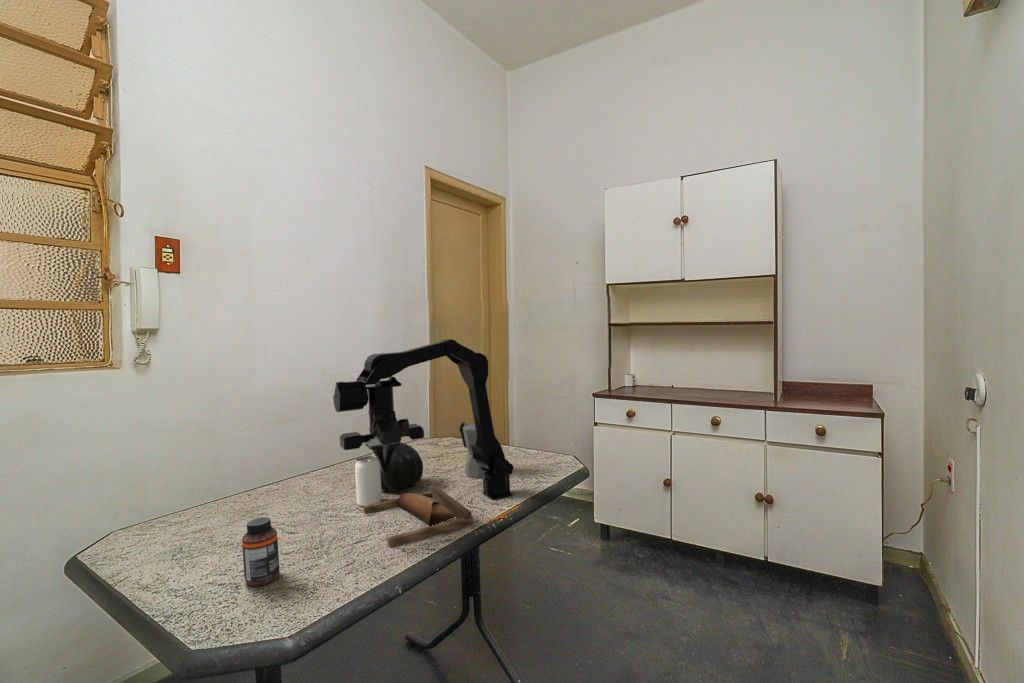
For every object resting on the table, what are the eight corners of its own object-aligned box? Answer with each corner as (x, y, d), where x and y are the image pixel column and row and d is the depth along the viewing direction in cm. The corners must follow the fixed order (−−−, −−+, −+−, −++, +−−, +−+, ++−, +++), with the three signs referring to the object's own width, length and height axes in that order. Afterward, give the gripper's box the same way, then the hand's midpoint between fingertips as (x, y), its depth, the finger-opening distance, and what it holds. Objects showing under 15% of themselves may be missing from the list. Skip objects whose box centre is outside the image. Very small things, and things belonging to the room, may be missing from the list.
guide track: (436, 495, 132) (436, 484, 132) (473, 523, 112) (473, 511, 111) (363, 511, 122) (362, 500, 122) (389, 546, 102) (388, 533, 101)
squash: (433, 471, 137) (416, 427, 144) (382, 484, 128) (367, 437, 136) (421, 493, 146) (405, 451, 154) (373, 507, 138) (359, 462, 145)
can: (374, 507, 125) (372, 462, 125) (352, 506, 126) (349, 461, 126) (386, 498, 131) (383, 455, 131) (364, 497, 133) (362, 455, 132)
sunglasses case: (460, 516, 116) (447, 497, 114) (440, 538, 112) (425, 519, 110) (425, 498, 130) (413, 480, 128) (406, 517, 126) (392, 499, 124)
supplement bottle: (253, 572, 93) (250, 515, 93) (284, 569, 94) (281, 513, 93) (238, 589, 87) (234, 528, 87) (272, 586, 88) (268, 525, 87)
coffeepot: (504, 474, 149) (502, 417, 148) (481, 482, 142) (479, 422, 142) (473, 465, 160) (470, 412, 159) (450, 472, 153) (448, 416, 153)
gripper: (347, 416, 101) (351, 489, 101) (430, 406, 110) (433, 472, 111) (337, 409, 111) (341, 476, 111) (415, 401, 120) (418, 462, 120)
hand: (384, 472), depth 113 cm, fingers closed
